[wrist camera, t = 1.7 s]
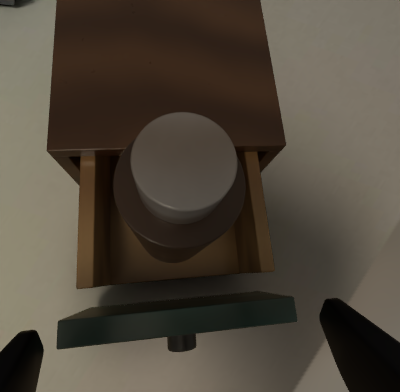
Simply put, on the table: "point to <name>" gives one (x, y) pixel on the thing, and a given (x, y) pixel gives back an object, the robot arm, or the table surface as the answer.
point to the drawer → (167, 270)
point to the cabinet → (159, 74)
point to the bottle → (179, 185)
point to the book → (7, 2)
